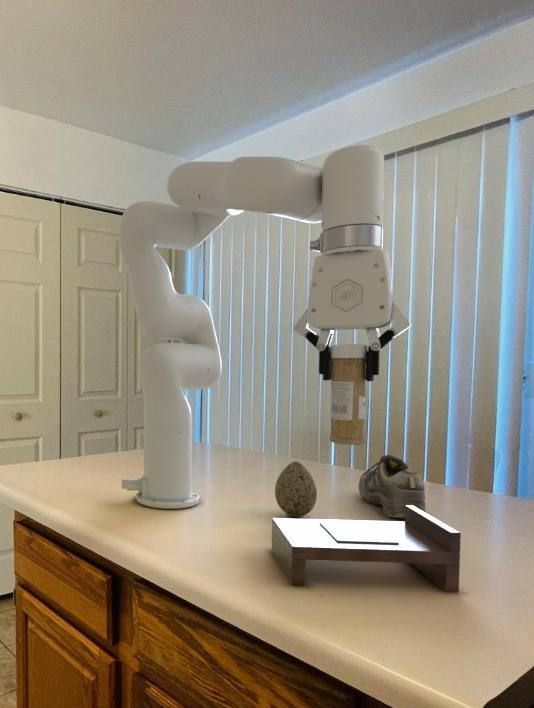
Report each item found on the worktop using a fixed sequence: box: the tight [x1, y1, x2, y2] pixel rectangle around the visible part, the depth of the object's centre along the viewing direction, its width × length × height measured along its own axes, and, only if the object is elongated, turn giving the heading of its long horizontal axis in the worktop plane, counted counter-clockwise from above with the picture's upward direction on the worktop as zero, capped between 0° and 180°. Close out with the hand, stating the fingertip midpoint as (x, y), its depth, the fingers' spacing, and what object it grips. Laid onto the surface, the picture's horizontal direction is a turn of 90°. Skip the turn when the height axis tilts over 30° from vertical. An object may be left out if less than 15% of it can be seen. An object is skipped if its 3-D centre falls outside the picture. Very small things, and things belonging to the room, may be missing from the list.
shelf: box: [270, 505, 462, 593], centre depth 71 cm, size 20×12×7 cm, turn 85°
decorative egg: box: [274, 461, 318, 518], centre depth 95 cm, size 7×7×10 cm
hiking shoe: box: [358, 454, 427, 519], centre depth 101 cm, size 9×21×12 cm
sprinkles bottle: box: [329, 343, 368, 446], centre depth 71 cm, size 5×5×13 cm
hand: (348, 379), depth 71 cm, fingers closed on sprinkles bottle, 4 cm apart
